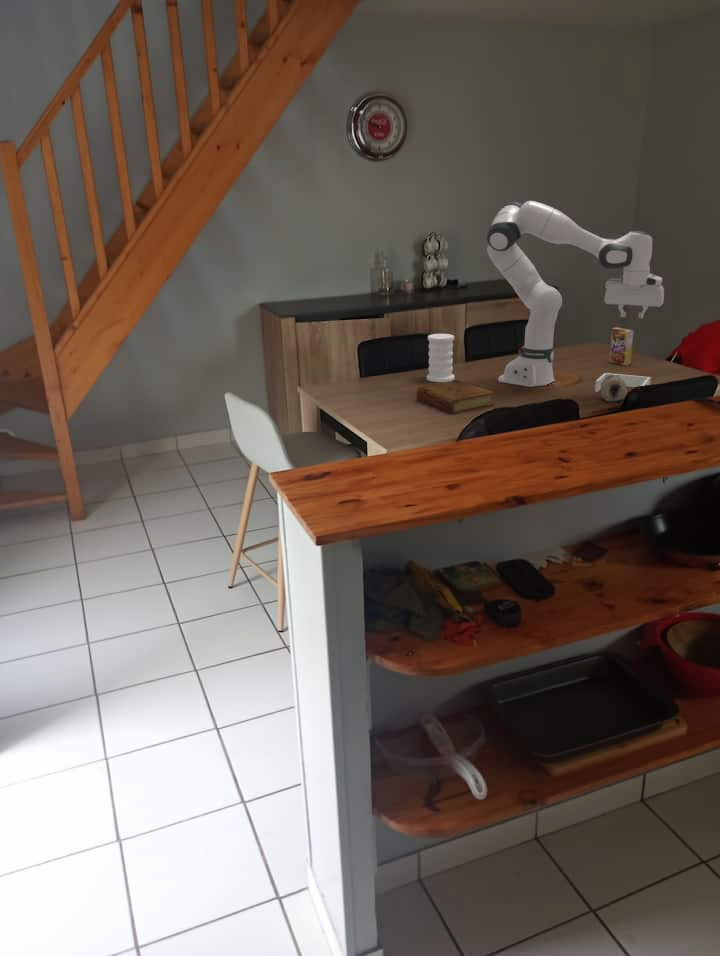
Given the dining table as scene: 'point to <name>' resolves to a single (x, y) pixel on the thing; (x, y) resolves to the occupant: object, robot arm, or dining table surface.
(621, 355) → the candy box
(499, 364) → the dining table surface
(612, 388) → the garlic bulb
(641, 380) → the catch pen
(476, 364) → the dining table surface
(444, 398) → the diary
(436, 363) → the decorative container
